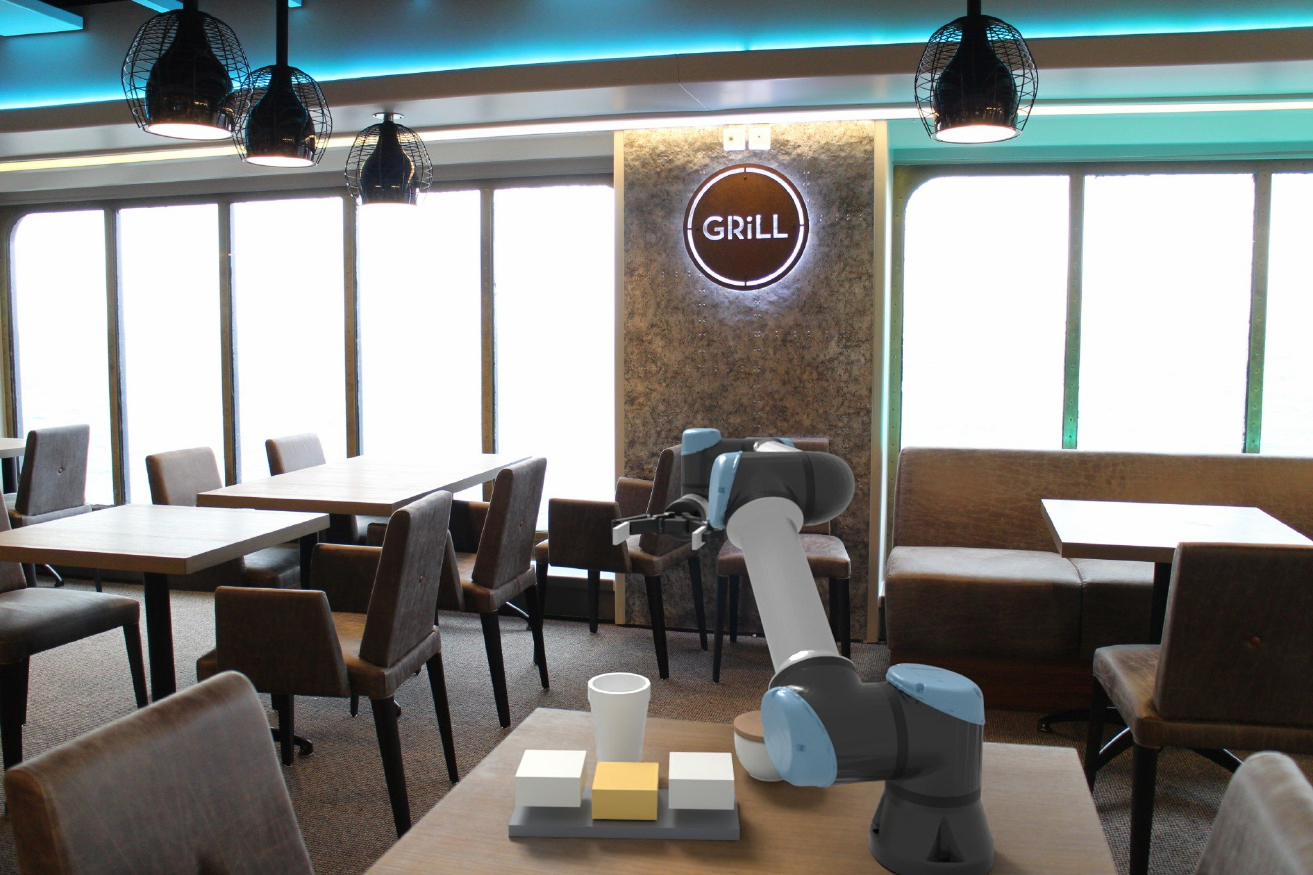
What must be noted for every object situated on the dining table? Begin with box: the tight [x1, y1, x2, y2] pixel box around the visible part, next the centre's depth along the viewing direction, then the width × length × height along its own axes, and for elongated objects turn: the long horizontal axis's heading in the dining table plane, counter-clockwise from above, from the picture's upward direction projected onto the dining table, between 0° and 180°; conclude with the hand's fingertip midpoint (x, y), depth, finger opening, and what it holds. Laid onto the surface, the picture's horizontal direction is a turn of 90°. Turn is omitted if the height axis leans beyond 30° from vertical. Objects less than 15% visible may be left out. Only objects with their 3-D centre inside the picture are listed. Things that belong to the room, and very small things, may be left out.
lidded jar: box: [733, 709, 785, 783], centre depth 146 cm, size 11×11×9 cm
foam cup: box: [587, 672, 651, 762], centre depth 148 cm, size 10×9×13 cm
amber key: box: [591, 761, 660, 820], centre depth 132 cm, size 8×8×4 cm
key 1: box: [514, 749, 588, 807], centre depth 132 cm, size 8×8×4 cm
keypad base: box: [508, 787, 741, 841], centre depth 132 cm, size 30×11×2 cm, turn 88°
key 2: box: [668, 751, 735, 810], centre depth 132 cm, size 8×8×4 cm
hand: (654, 539), depth 161 cm, fingers open, 13 cm apart
